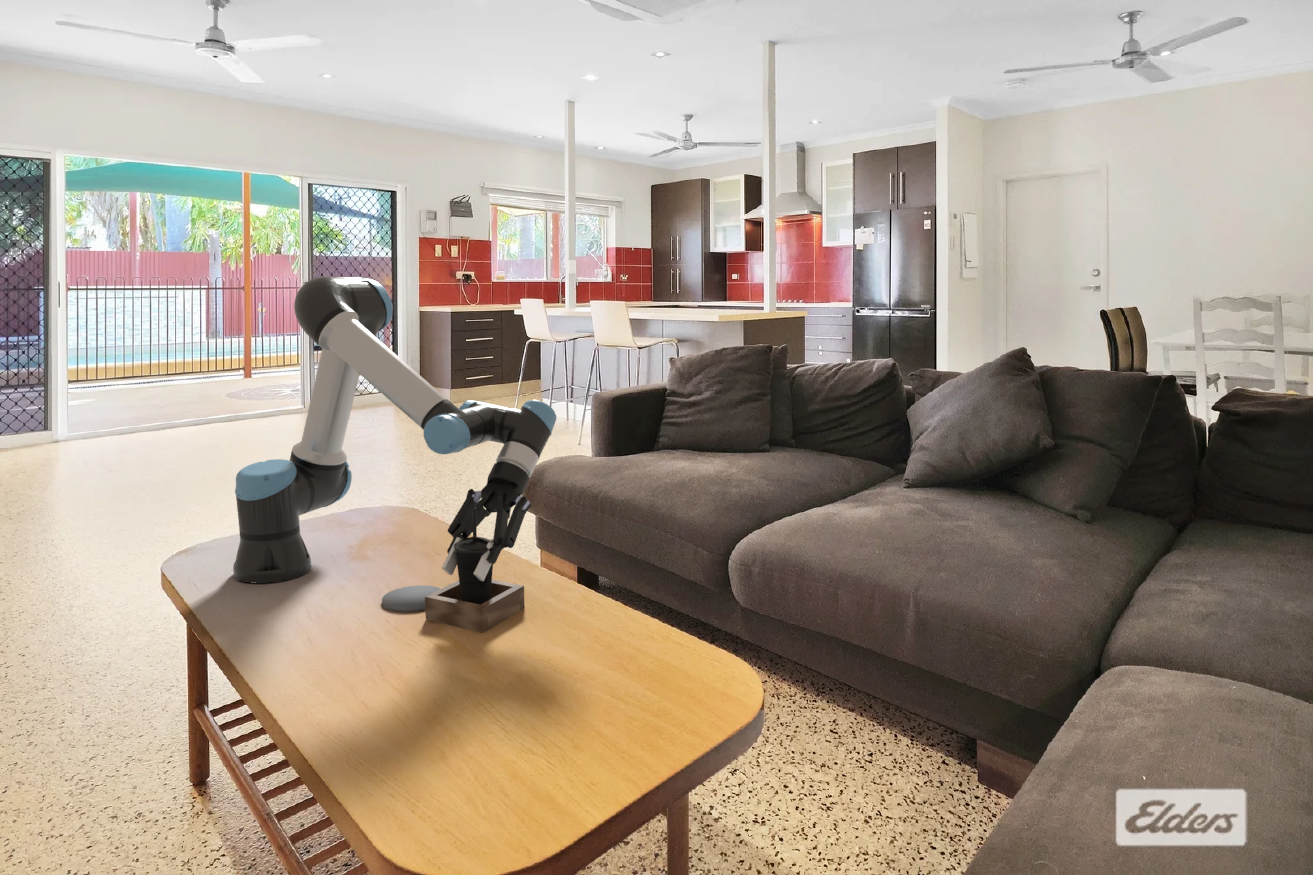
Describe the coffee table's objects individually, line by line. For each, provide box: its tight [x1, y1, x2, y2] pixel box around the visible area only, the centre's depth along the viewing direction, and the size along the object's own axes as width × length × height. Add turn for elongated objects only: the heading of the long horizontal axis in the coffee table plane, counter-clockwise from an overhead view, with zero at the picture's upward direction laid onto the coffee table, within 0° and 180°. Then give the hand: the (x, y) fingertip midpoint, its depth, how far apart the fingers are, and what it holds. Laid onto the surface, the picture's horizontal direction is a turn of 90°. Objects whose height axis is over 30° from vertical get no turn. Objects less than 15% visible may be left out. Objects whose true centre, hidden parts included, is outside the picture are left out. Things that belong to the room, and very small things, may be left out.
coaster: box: [381, 585, 442, 613], centre depth 162 cm, size 12×12×1 cm
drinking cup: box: [454, 511, 494, 605], centre depth 154 cm, size 8×8×20 cm
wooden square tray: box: [424, 579, 525, 634], centre depth 156 cm, size 13×13×4 cm
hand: (462, 574), depth 151 cm, fingers closed on drinking cup, 6 cm apart
